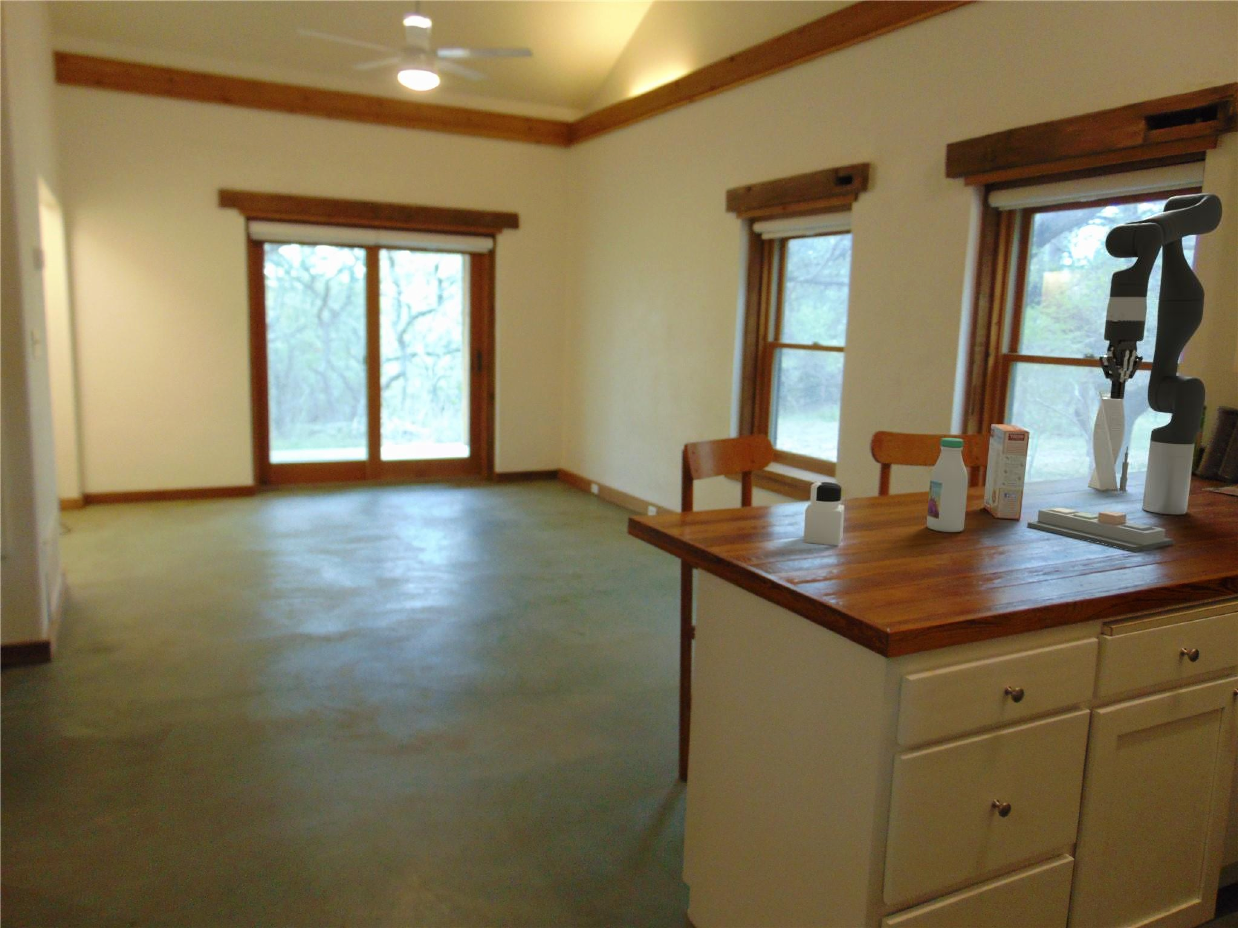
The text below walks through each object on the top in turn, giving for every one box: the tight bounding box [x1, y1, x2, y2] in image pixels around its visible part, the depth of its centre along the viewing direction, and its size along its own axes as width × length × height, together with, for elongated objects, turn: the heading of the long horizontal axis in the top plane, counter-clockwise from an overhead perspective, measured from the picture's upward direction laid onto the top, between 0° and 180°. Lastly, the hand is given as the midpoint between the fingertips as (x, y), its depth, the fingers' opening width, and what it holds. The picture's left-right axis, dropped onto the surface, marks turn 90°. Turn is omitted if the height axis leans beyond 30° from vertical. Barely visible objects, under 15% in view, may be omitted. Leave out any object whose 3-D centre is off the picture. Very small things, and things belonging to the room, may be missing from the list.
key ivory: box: [1050, 507, 1078, 515], centre depth 197 cm, size 4×4×3 cm
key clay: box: [1097, 510, 1127, 525], centre depth 188 cm, size 4×4×3 cm
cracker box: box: [983, 423, 1030, 521], centre depth 209 cm, size 14×6×21 cm, turn 168°
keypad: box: [1026, 506, 1174, 553], centre depth 190 cm, size 14×24×4 cm, turn 30°
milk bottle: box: [926, 437, 968, 533], centre depth 192 cm, size 8×8×20 cm
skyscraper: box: [1087, 389, 1130, 492], centre depth 244 cm, size 8×8×28 cm
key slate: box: [1123, 522, 1153, 531], centre depth 183 cm, size 4×4×3 cm
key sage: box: [1074, 512, 1098, 520], centre depth 193 cm, size 4×4×3 cm
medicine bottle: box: [803, 481, 845, 547], centre depth 180 cm, size 7×7×12 cm
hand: (1116, 398), depth 193 cm, fingers closed
